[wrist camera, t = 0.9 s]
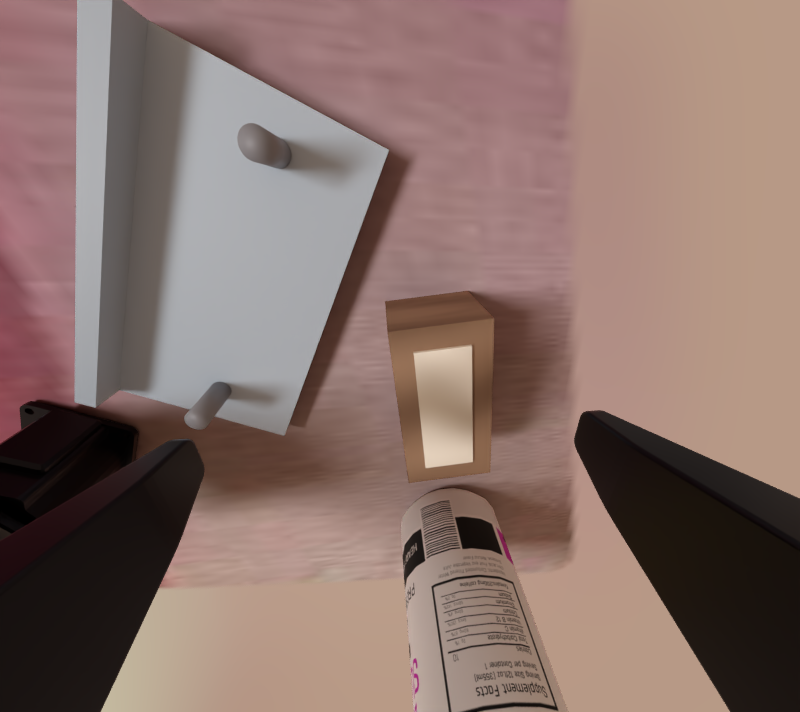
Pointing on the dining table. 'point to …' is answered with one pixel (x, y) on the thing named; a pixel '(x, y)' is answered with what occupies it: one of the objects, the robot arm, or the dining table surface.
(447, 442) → the brown wooden block
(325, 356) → the dining table surface
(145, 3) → the dining table surface
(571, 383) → the dining table surface
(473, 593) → the supplement can
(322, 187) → the ledge
